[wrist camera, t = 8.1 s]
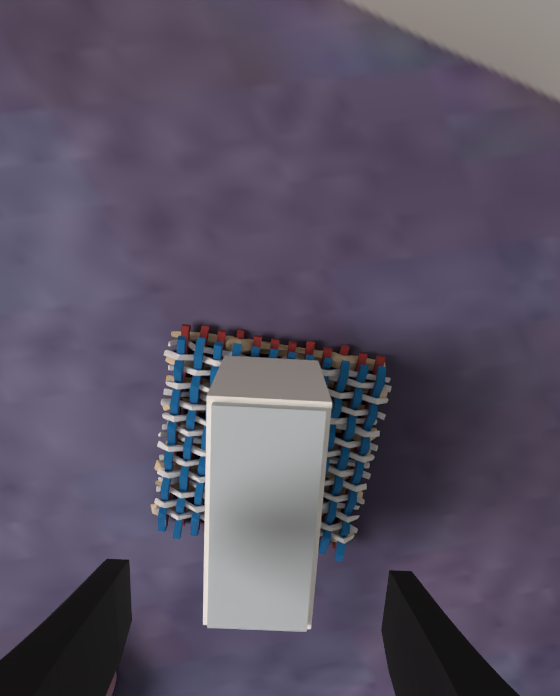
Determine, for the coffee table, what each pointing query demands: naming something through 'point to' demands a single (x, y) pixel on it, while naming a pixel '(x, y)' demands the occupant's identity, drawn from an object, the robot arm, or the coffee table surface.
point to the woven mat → (186, 469)
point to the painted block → (264, 492)
